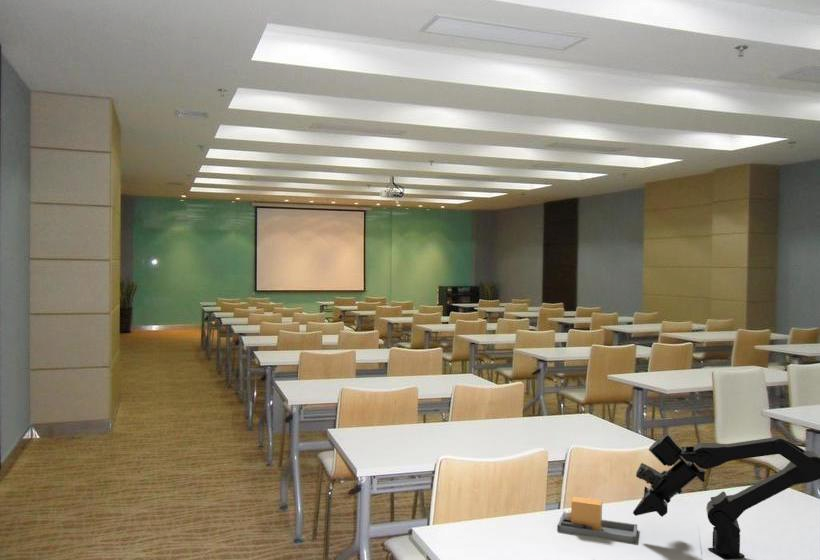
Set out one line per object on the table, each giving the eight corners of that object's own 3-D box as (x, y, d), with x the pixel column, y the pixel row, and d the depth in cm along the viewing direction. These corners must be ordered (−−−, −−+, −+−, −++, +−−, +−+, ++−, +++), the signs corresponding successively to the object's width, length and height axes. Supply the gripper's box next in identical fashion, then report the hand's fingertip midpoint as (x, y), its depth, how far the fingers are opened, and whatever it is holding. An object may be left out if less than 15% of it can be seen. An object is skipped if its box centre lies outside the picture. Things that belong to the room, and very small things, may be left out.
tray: (637, 533, 189) (637, 522, 189) (635, 546, 180) (635, 534, 180) (562, 522, 196) (562, 511, 196) (557, 534, 187) (557, 523, 187)
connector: (601, 528, 190) (602, 500, 190) (600, 533, 186) (600, 505, 186) (564, 522, 194) (564, 495, 194) (562, 528, 189) (562, 500, 189)
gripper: (654, 447, 191) (615, 481, 195) (653, 464, 174) (609, 501, 178) (684, 477, 188) (643, 511, 192) (686, 497, 171) (641, 534, 175)
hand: (634, 513), depth 184 cm, fingers closed
